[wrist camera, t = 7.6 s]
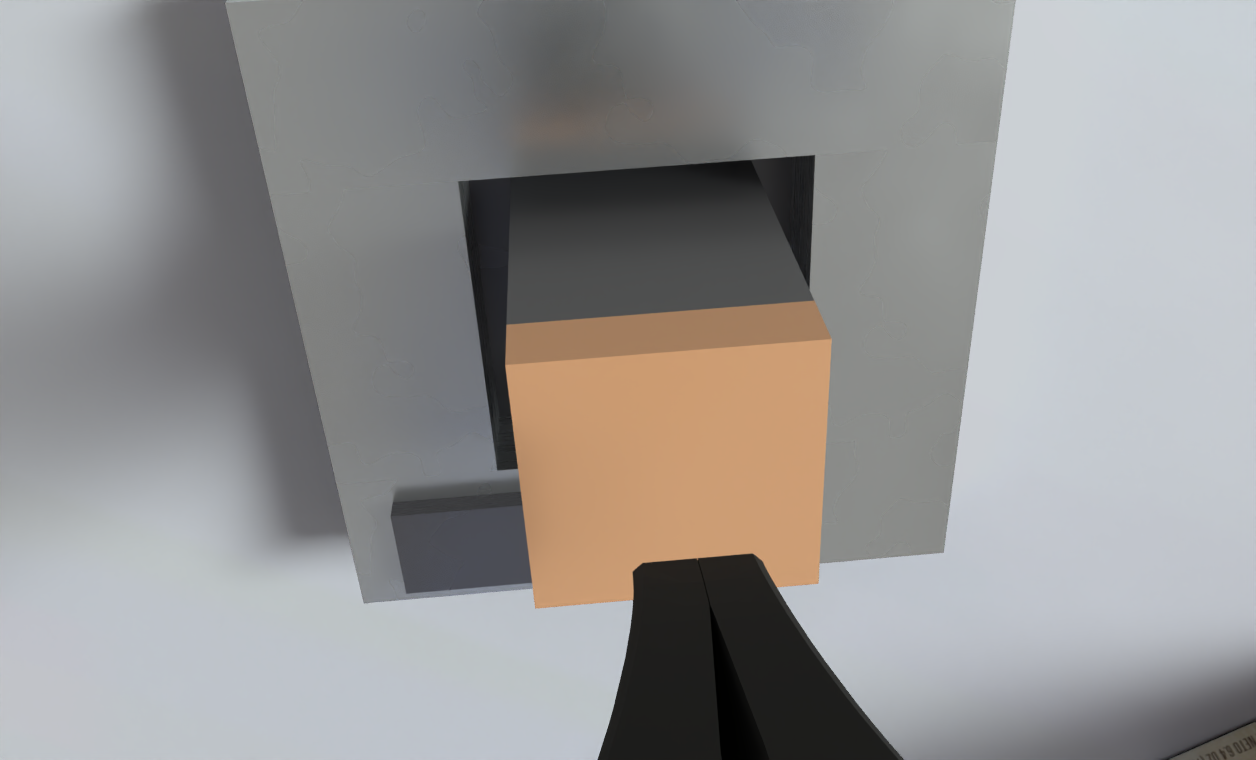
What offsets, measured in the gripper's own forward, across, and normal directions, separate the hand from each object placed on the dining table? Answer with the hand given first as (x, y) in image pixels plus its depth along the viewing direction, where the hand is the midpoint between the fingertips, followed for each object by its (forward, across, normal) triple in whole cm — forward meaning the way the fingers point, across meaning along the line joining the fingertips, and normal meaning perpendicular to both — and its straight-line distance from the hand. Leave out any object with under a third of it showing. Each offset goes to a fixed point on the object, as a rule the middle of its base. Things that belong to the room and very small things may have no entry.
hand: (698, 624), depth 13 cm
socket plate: (+9, 0, 0) cm, 9 cm away
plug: (+9, 0, 0) cm, 9 cm away
